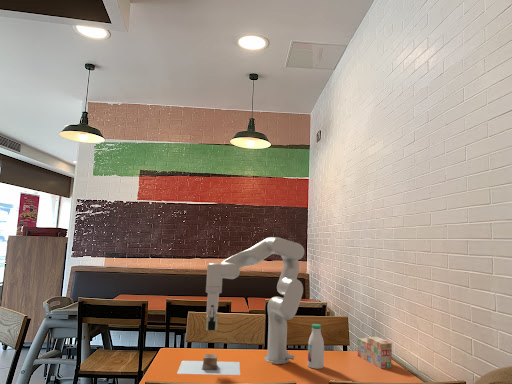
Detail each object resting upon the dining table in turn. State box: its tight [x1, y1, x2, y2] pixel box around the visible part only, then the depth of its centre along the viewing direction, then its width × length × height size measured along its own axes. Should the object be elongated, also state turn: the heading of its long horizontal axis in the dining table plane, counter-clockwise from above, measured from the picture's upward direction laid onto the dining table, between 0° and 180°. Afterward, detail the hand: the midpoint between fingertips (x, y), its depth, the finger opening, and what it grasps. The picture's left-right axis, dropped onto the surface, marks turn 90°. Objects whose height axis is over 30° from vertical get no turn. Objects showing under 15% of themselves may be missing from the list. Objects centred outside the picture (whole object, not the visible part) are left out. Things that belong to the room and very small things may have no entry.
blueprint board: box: [176, 360, 241, 376], centre depth 182 cm, size 28×18×1 cm, turn 93°
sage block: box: [205, 314, 219, 331], centre depth 184 cm, size 5×5×6 cm
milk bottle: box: [307, 323, 325, 370], centre depth 192 cm, size 8×8×20 cm
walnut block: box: [202, 353, 218, 370], centre depth 182 cm, size 6×6×5 cm
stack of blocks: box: [357, 336, 393, 370], centre depth 204 cm, size 21×6×12 cm, turn 18°
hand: (211, 328), depth 183 cm, fingers closed on sage block, 4 cm apart
